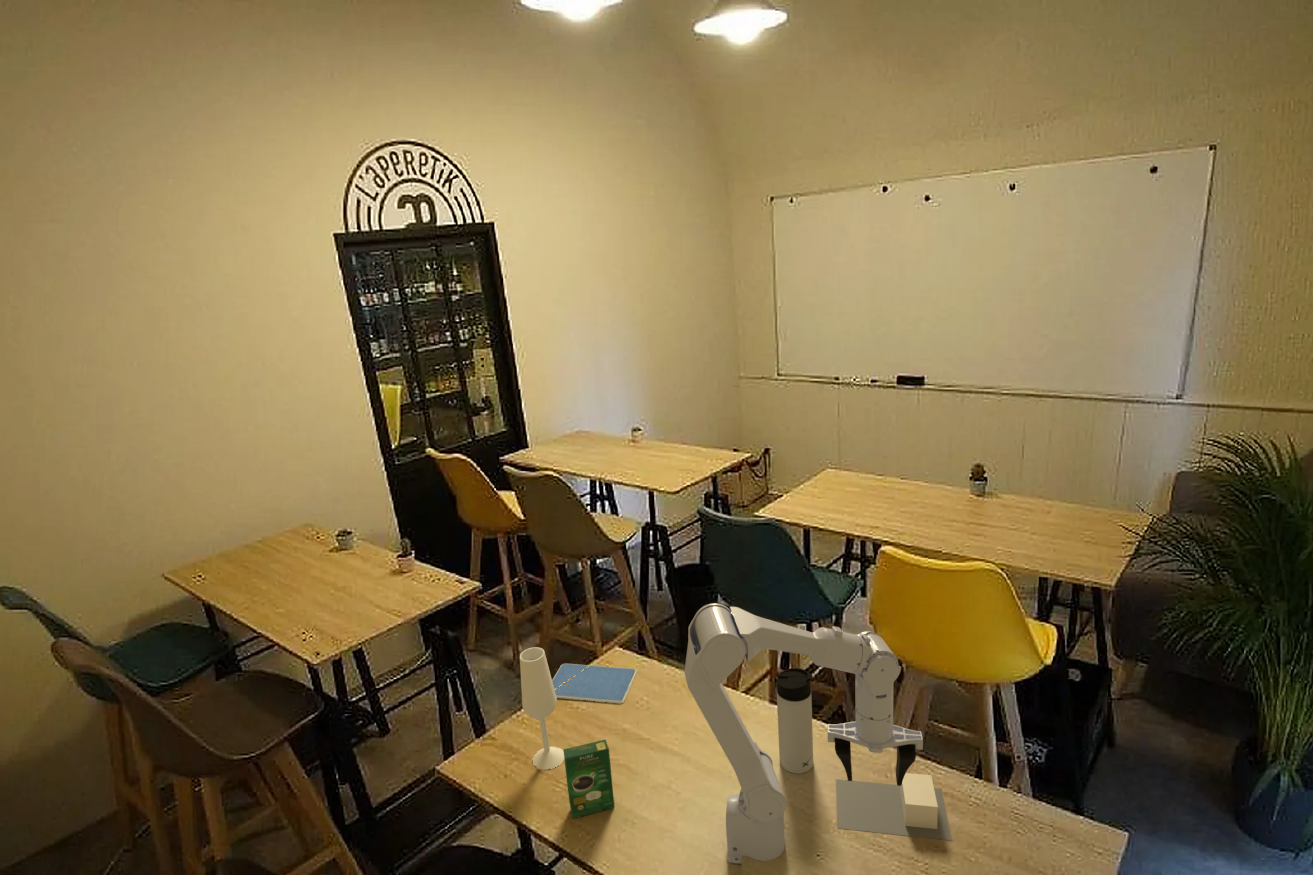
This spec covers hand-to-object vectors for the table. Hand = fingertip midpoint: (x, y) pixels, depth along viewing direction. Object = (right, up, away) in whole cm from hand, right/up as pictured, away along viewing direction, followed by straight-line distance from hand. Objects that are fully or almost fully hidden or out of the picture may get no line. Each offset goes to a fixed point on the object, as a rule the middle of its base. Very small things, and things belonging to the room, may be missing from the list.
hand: (874, 778), depth 114 cm
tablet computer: (-51, -2, +48) cm, 70 cm away
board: (+5, -9, +6) cm, 12 cm away
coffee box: (-47, -12, +13) cm, 50 cm away
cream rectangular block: (+9, -8, +5) cm, 13 cm away
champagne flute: (-57, -9, +26) cm, 64 cm away
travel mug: (-9, -7, +18) cm, 21 cm away
